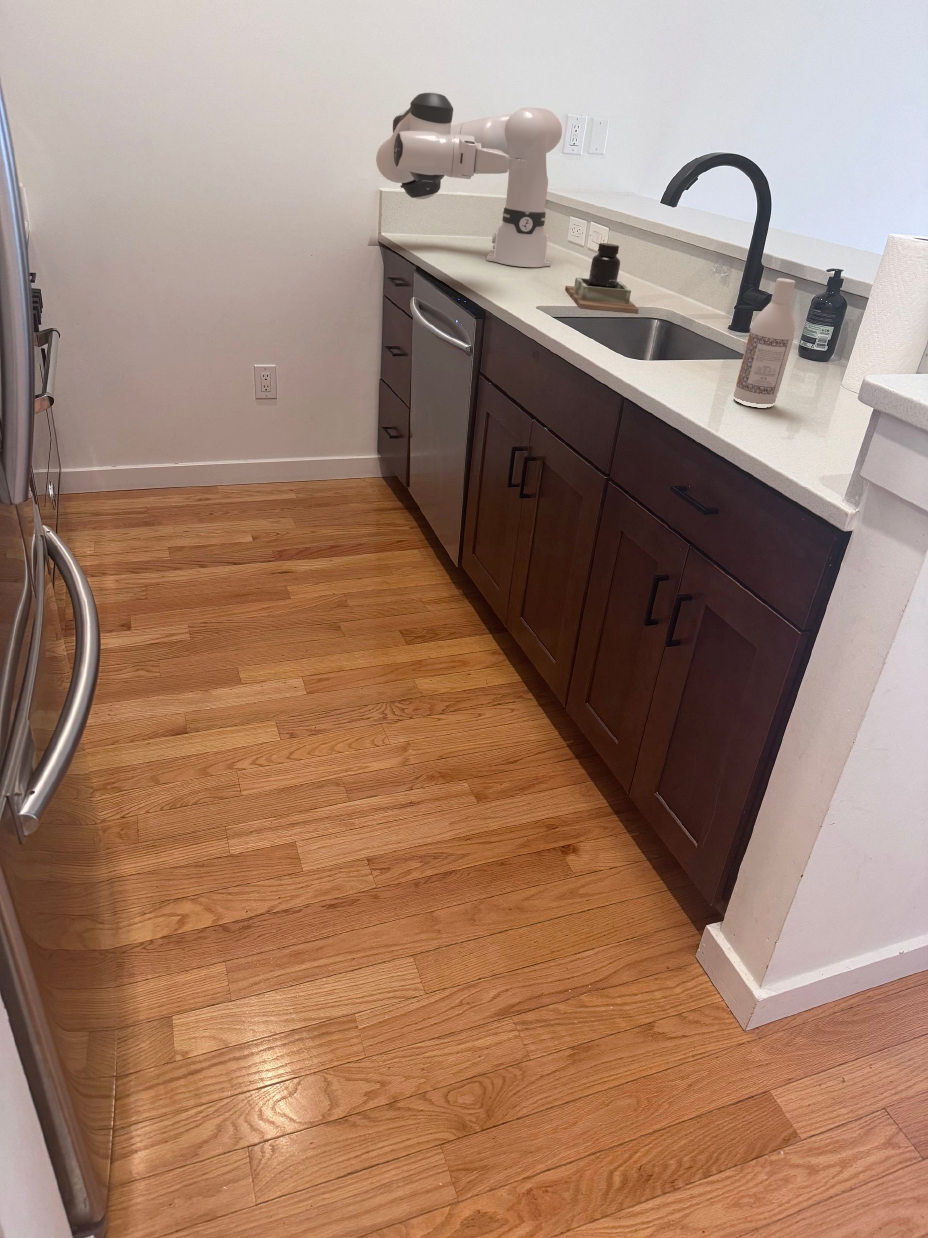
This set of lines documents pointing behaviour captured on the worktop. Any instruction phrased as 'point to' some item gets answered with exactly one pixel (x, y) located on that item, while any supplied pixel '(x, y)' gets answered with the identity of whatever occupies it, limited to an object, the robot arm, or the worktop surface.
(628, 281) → the worktop surface
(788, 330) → the bath foam
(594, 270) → the supplement bottle
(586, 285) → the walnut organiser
